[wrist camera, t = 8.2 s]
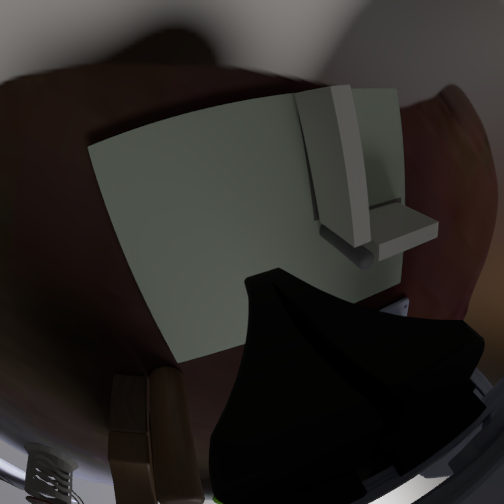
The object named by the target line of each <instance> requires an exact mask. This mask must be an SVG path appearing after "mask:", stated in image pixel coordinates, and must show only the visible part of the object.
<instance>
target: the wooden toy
mask: <svg viewBox="0 0 504 504" xmlns="http://www.w3.org/2000/svg"><path fill="white" fill-rule="evenodd" d="M150 418H151V431H150V430H149V416H148V393H147V379H146V377H145V376H134V375H123V374H114V376H113V383H112V392H111V403H110V416H109V431H110V432H109V438H108V461H109V464H110V469H111V474H112V478H113V483H114V491H115V498H116V504H158V502H159V503H160V504H203V503H204V500H205V498H204V493H203V489H202V484H201V480H200V475H199V470H198V465H197V460H196V455H195V449H194V444H193V438H192V432H191V426H190V419H189V413H188V406H187V399H186V391H185V383H184V376H183V375H182V373H181V372H180V371H179V370H178V369H176V368H174V367H170V366H161V367H158V368H156V369H154V370H153V371H152V373H151V374H150ZM157 501H158V502H157Z"/></svg>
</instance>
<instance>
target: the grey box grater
mask: <svg viewBox="0 0 504 504" xmlns="http://www.w3.org/2000/svg"><path fill="white" fill-rule="evenodd" d="M24 448H25V450H26V451H27V453H28V454H29V455H28V462H27V469H26V477H25V487H24V490H25V491H26V492H27V493H28V494H30V495H31V496H27V497H26V500H28V501H29V502H31V503H32V504H71V496H72V497H74V496H73V495H72V494H71V491H72V492H73V490H72V473H73V471H74V470H76V469H77V468H78V464H77V462H75V461H74V460H73V459H72V458H71V457H69V456H67V455H65V454H64V453H62V452H59V451H57V450H55V449H53V448H50V447H47V446H44V445H40V444H35V443H27V444H25V446H24ZM35 468H38V469H39V470H40V471H41V472H40V471H37V470H36V469H35ZM69 473H71V475H70V476H69ZM35 475H38V476H39V477H40V478H41V479H43V480H44V481H46V482H50V483H52V484H53V485H54V486H50V485H48V484H47V483H46V482H44V481H42V480H40V479H38V478H37V477H36V476H35ZM48 476H50V477H54V478H55V479H56V480H52V479H51V478H49V477H48ZM33 477H34V478H33ZM69 479H70V482H68V480H69ZM57 483H58V484H57ZM68 486H70V489H68ZM55 489H58V491H56V490H55ZM38 491H39V492H42V493H45V494H48V495H50V496H53V497H56V498H47V497H45V496H43V495H41V494H40V493H39V492H38ZM68 493H69V494H70V496H68ZM73 493H74V492H73ZM74 494H75V495H76V496H77V494H76V493H74ZM32 496H33V497H32ZM77 497H79V496H77ZM74 499H75V500H76V501H77V502H78V500H77V499H76V498H75V497H74ZM79 499H80V500H81V498H80V497H79ZM81 501H82V500H81ZM82 503H83V501H82ZM78 504H79V502H78ZM83 504H84V503H83Z"/></svg>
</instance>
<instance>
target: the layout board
mask: <svg viewBox="0 0 504 504" xmlns="http://www.w3.org/2000/svg"><path fill="white" fill-rule="evenodd" d="M351 91H352V95H353V100H354V105H355V110H356V116H357V121H358V127H359V133H360V139H361V145H362V152H363V159H364V167H365V175H366V184H367V193H368V204H369V210H372V209H375V208H378V207H382V206H385V205H389V204H392V203H396V202H398V203H400V204H402V205H404V206H405V173H404V152H403V138H402V127H401V118H400V109H399V101H398V94H397V89H396V88H352V89H351ZM88 151H89V154H90V158H91V161H92V165H93V168H94V171H95V174H96V178H97V181H98V184H99V187H100V190H101V193H102V196H103V199H104V202H105V205H106V207H107V210H108V213H109V216H110V218H111V221H112V224H113V227H114V229H115V232H116V234H117V237H118V239H119V242H120V244H121V247H122V249H123V252H124V254H125V257H126V259H127V261H128V264H129V266H130V268H131V271H132V273H133V275H134V277H135V280H136V282H137V284H138V286H139V288H140V291H141V293H142V295H143V297H144V299H145V301H146V303H147V305H148V307H149V309H150V312H151V314H152V316H153V318H154V320H155V322H156V323H157V325H158V327H159V329H160V331H161V333H162V335H163V337H164V339H165V341H166V343H167V344H168V346H169V348H170V350H171V352H172V354H173V355H174V357H175V359H176V361H177V362H178V363H180V362H183V361H187V360H191V359H194V358H198V357H202V356H205V355H209V354H212V353H215V352H219V351H222V350H226V349H229V348H232V347H235V346H238V345H242V344H245V342H246V335H247V326H248V295H247V291H246V287H245V283H244V280H245V279H246V278H247V277H250V276H253V275H256V274H259V273H262V272H266V271H269V270H272V269H275V268H278V267H279V268H281V269H283V270H285V271H287V272H288V273H290V274H292V275H294V276H295V277H297V278H299V279H301V280H303V281H304V282H306V283H308V284H310V285H312V286H314V287H316V288H318V289H320V290H322V291H324V292H327V293H329V294H331V295H333V296H336V297H338V298H341V299H343V300H346V301H348V302H351V303H356V302H358V301H360V300H363V299H365V298H367V297H370V296H372V295H374V294H376V293H379V292H381V291H383V290H385V289H388V288H390V287H392V286H394V285H396V284H398V283H400V281H401V271H402V260H403V252H401V253H398V254H396V255H393V256H391V257H388V258H386V259H383V260H381V261H378V260H377V259H375V258H374V262H373V264H372V265H371V267H370V268H368V269H366V270H361V269H360V268H359V267H358V266H356V265H355V264H354V263H353V262H352V261H350V260H349V259H348V258H347V257H346V256H345V255H343V254H342V253H341V252H340V251H339V250H337V249H336V248H335V247H334V246H332V245H331V244H330V243H329V242H328V241H326V240H325V239H324V238H323V237H321V236H320V233H319V229H320V227H321V226H322V225H323V224H322V223H320V220H319V213H318V207H317V201H316V196H315V190H314V184H313V179H312V174H311V168H310V163H309V158H308V153H307V148H306V144H305V139H304V134H303V130H302V125H301V121H300V116H299V112H298V108H297V104H296V100H295V96H294V93H290V94H282V95H275V96H268V97H262V98H256V99H250V100H244V101H239V102H234V103H229V104H224V105H219V106H215V107H210V108H206V109H202V110H198V111H194V112H190V113H186V114H182V115H179V116H175V117H172V118H168V119H165V120H161V121H158V122H155V123H152V124H148V125H145V126H142V127H139V128H136V129H133V130H130V131H128V132H125V133H122V134H119V135H117V136H114V137H111V138H109V139H106V140H103V141H101V142H98V143H96V144H93V145H91V146H89V147H88Z"/></svg>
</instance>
